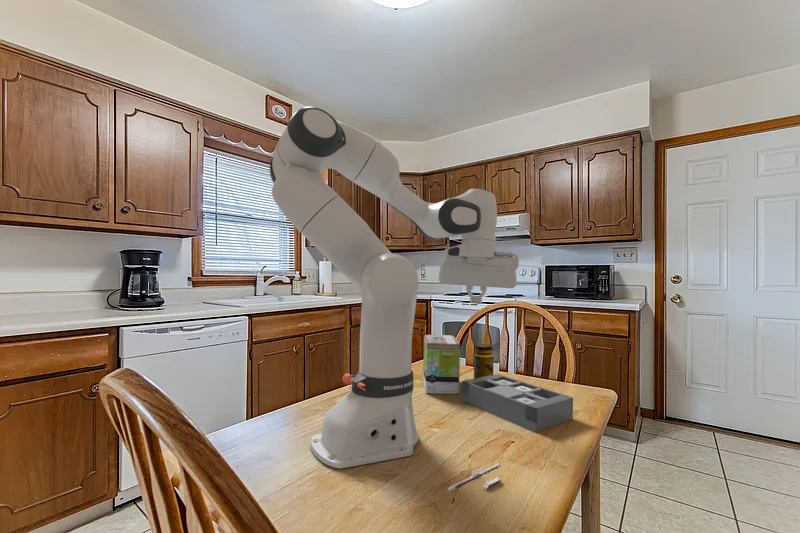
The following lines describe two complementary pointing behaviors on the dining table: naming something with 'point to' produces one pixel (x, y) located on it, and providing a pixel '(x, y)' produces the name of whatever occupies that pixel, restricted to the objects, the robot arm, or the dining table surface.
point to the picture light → (478, 476)
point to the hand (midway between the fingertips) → (475, 303)
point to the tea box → (441, 364)
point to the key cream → (524, 390)
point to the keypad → (518, 402)
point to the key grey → (504, 383)
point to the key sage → (526, 400)
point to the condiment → (483, 361)
